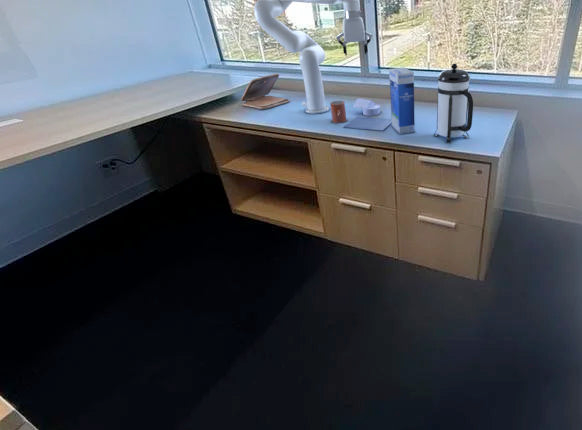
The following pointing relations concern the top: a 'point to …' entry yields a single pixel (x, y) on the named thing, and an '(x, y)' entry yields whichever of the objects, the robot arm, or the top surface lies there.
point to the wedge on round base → (367, 107)
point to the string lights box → (402, 99)
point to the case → (262, 93)
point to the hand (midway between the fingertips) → (355, 54)
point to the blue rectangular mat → (369, 123)
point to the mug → (338, 111)
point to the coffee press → (454, 103)
